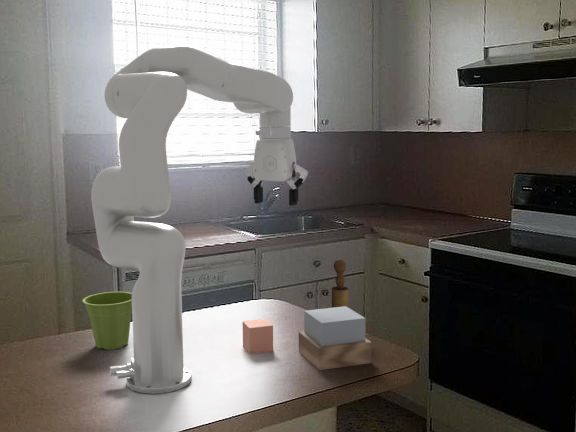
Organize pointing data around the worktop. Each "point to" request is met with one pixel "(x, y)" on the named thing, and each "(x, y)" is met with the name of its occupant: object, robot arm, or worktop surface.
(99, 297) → the plant pot
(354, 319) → the upper block
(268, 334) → the pink cube
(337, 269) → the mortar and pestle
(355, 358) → the lower block
